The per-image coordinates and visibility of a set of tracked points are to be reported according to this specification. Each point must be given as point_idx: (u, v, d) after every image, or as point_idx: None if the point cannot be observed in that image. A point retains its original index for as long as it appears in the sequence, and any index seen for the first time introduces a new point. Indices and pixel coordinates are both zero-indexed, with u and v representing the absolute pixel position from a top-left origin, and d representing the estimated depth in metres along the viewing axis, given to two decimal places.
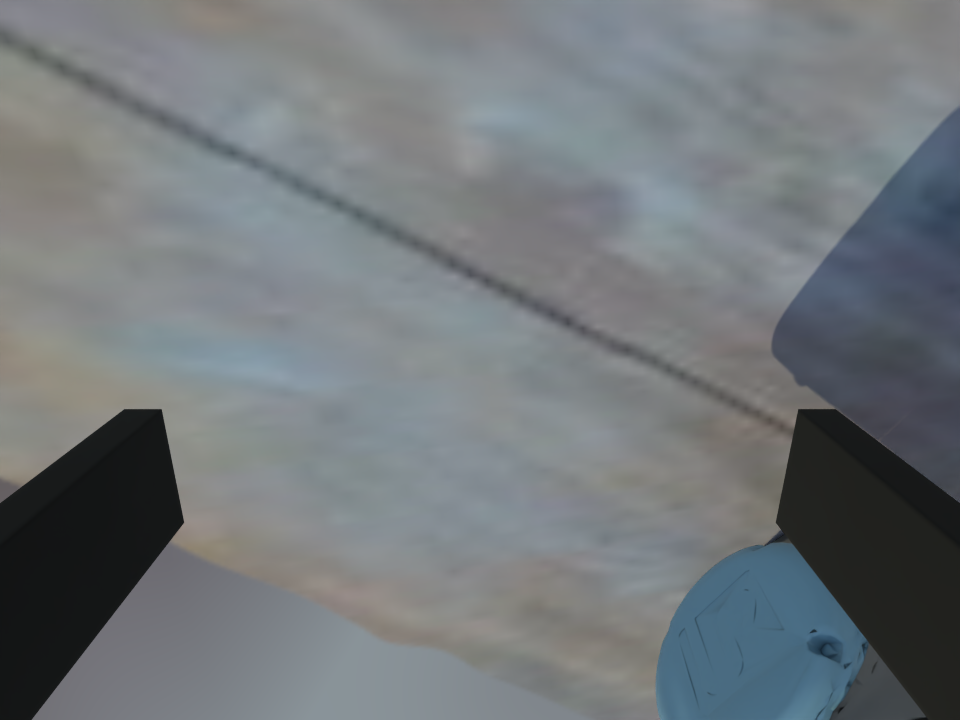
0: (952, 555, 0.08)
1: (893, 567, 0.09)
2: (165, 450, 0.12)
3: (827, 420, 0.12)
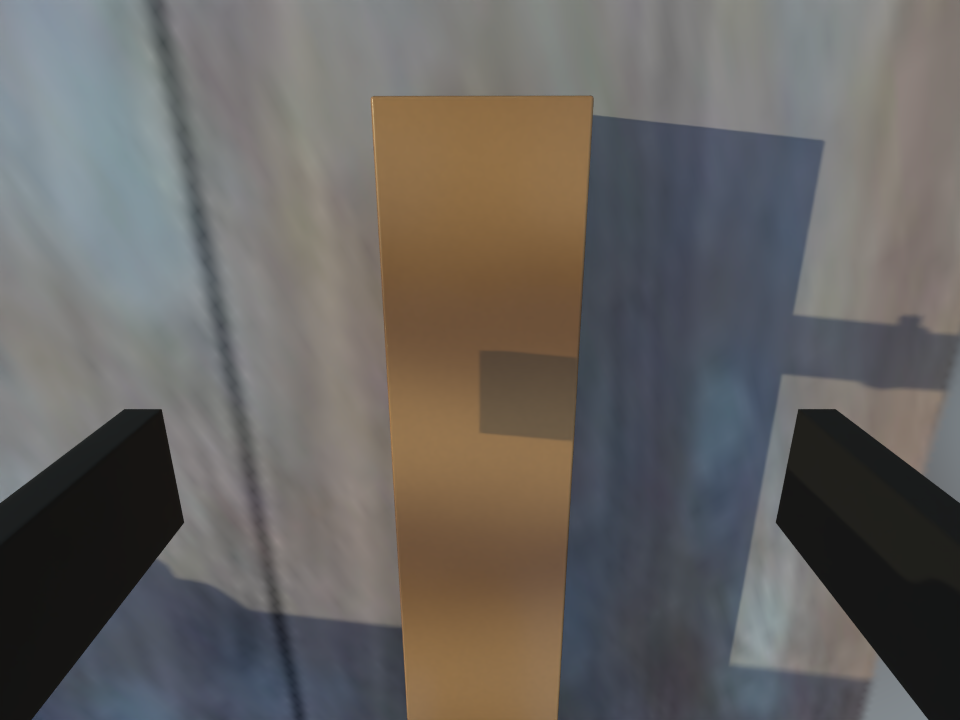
0: (952, 555, 0.08)
1: (893, 567, 0.09)
2: (165, 450, 0.12)
3: (827, 420, 0.12)
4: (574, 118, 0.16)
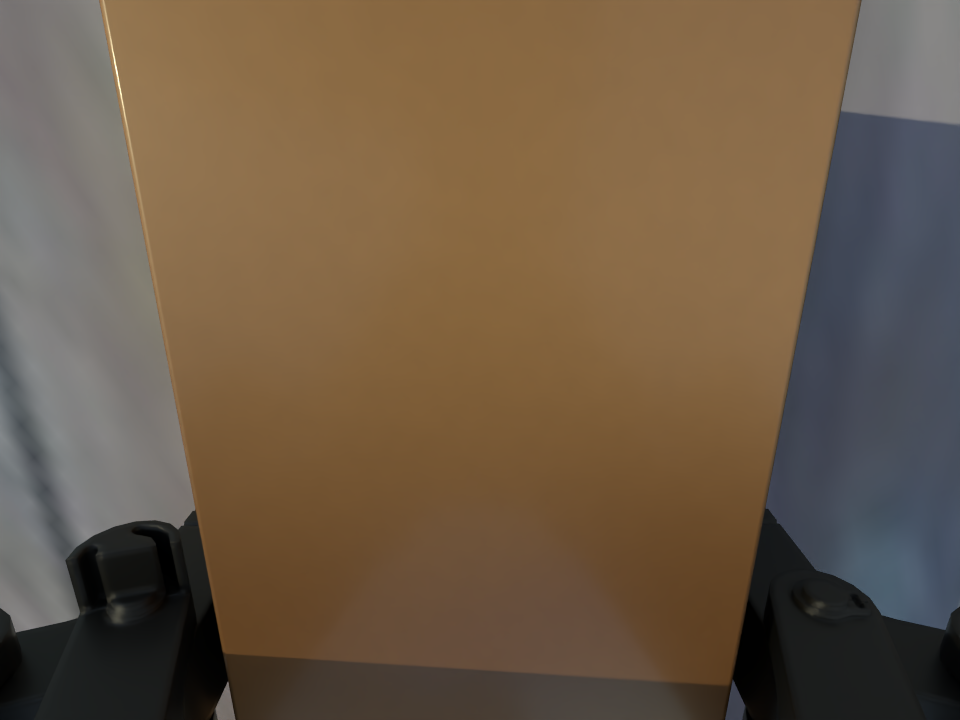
0: None
1: None
2: None
3: None
4: (789, 71, 0.05)
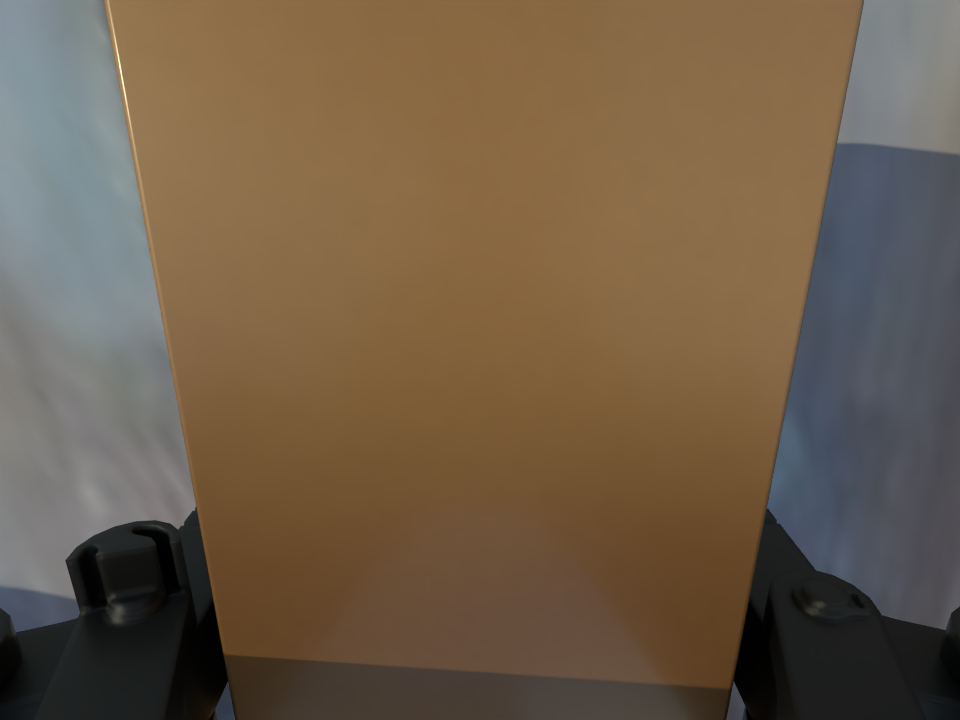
0: None
1: None
2: None
3: None
4: (792, 71, 0.05)
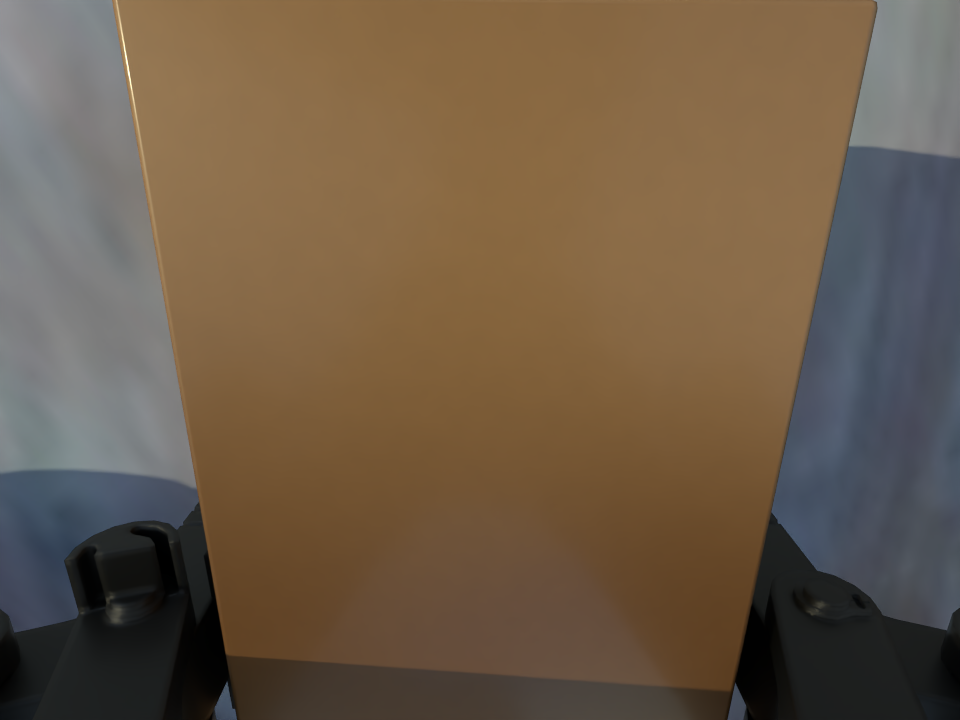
0: None
1: None
2: None
3: None
4: (805, 76, 0.05)
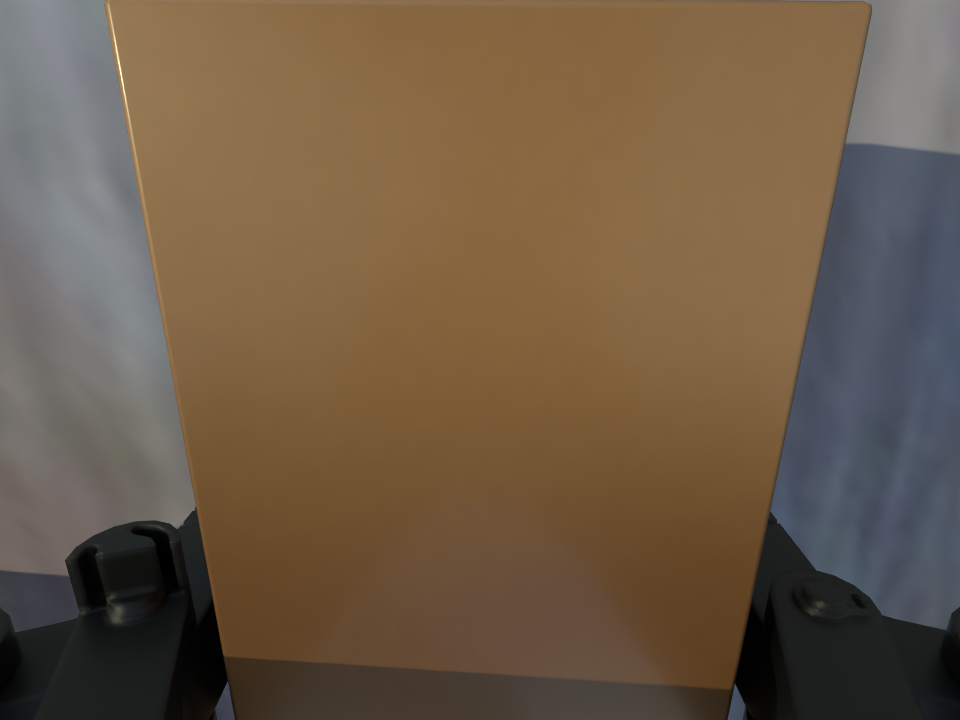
0: None
1: None
2: None
3: None
4: (799, 79, 0.05)
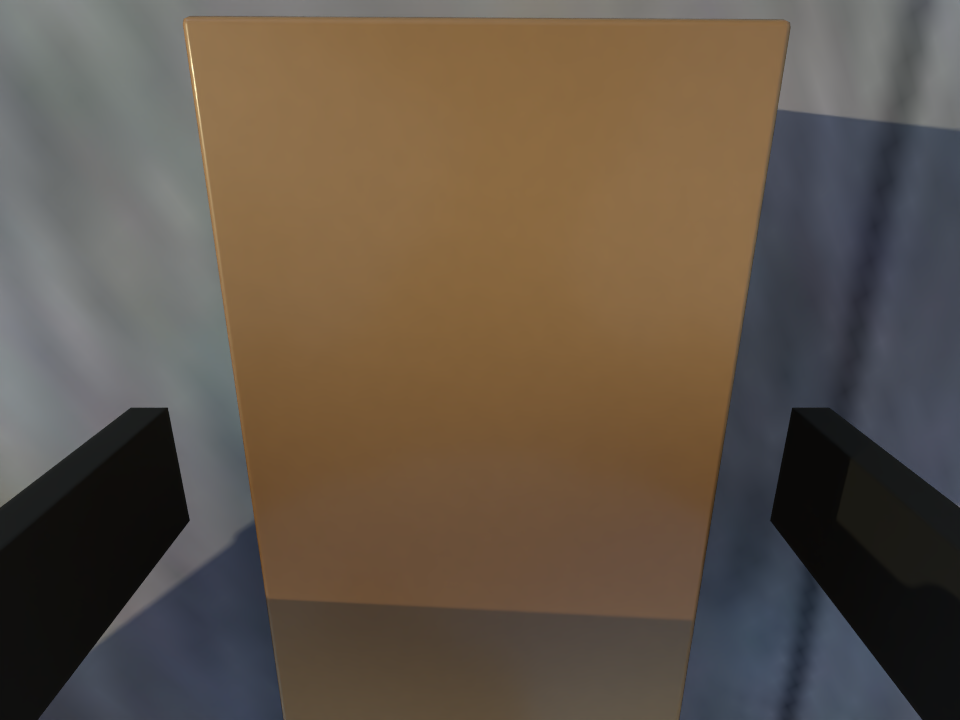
0: (942, 552, 0.08)
1: (885, 564, 0.09)
2: (171, 448, 0.12)
3: (821, 418, 0.12)
4: (735, 81, 0.06)
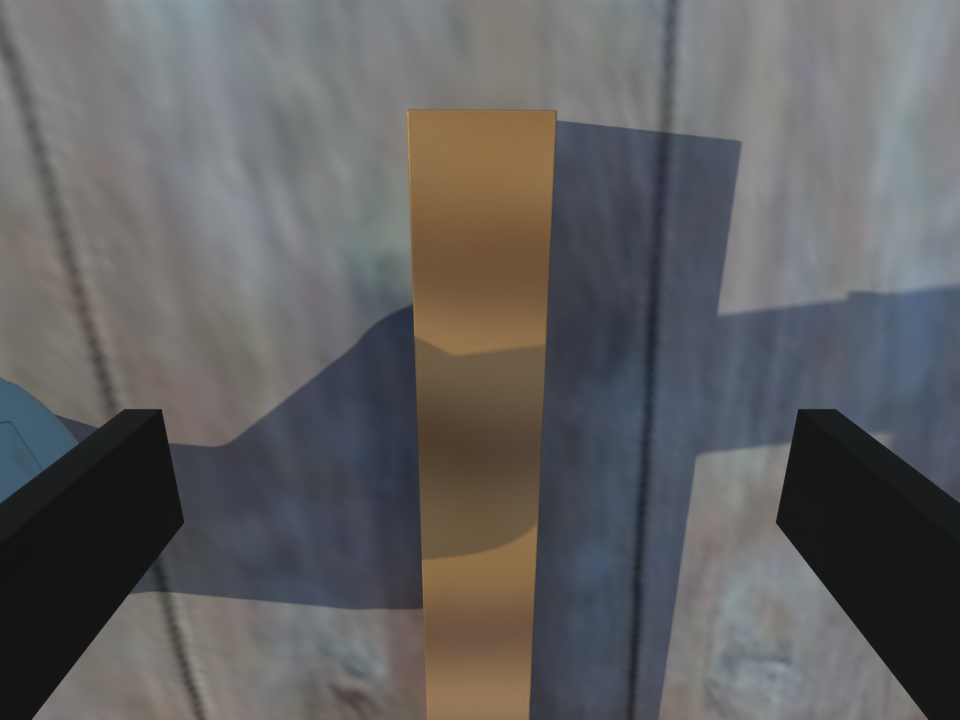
0: (953, 555, 0.08)
1: (893, 567, 0.09)
2: (165, 450, 0.12)
3: (827, 420, 0.12)
4: (543, 125, 0.23)
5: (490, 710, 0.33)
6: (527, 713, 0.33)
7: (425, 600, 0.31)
